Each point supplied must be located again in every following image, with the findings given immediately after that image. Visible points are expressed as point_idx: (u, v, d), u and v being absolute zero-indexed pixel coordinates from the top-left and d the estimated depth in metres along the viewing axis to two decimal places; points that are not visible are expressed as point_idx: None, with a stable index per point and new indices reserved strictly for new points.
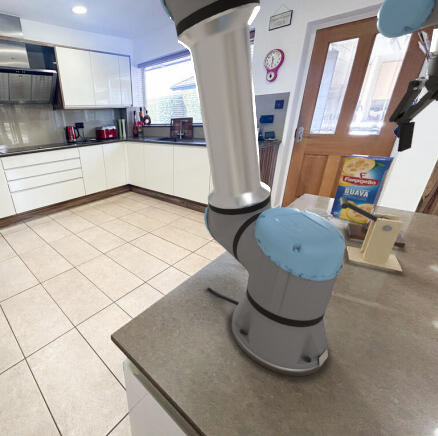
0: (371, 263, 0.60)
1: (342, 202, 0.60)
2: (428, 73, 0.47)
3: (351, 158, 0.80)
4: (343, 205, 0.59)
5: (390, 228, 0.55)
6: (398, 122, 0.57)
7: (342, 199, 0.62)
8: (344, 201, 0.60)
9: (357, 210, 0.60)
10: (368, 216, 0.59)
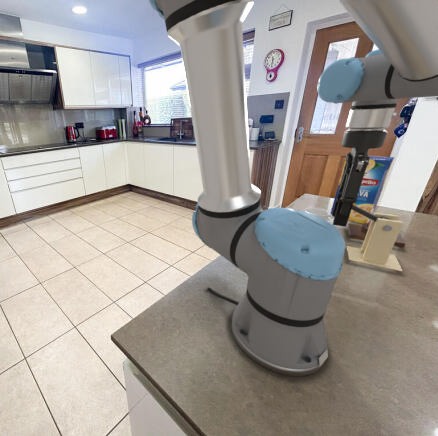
0: (371, 263, 0.60)
1: None
2: None
3: None
4: None
5: (390, 228, 0.55)
6: None
7: None
8: None
9: (357, 210, 0.60)
10: (368, 216, 0.59)
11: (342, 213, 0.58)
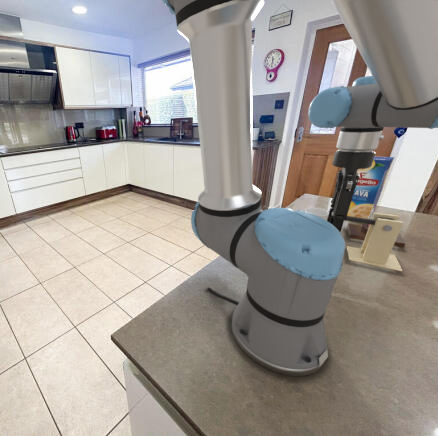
0: (371, 263, 0.60)
1: None
2: None
3: None
4: None
5: (390, 228, 0.55)
6: (331, 205, 0.67)
7: (332, 214, 0.64)
8: None
9: (351, 219, 0.61)
10: (364, 222, 0.60)
11: None
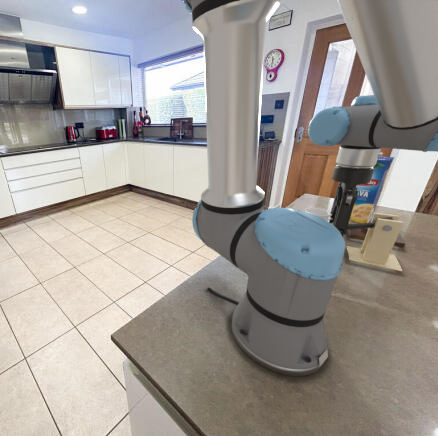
0: (371, 263, 0.60)
1: None
2: None
3: None
4: None
5: (390, 228, 0.55)
6: (330, 216, 0.68)
7: None
8: None
9: (351, 227, 0.62)
10: (364, 227, 0.60)
11: None
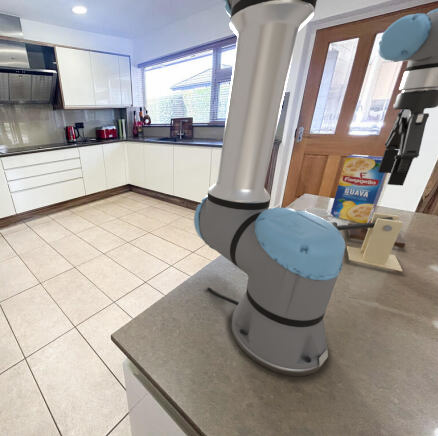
0: (371, 263, 0.60)
1: None
2: None
3: (351, 158, 0.80)
4: None
5: (390, 228, 0.55)
6: (386, 146, 0.68)
7: None
8: None
9: (351, 227, 0.62)
10: (364, 227, 0.60)
11: (400, 170, 0.56)
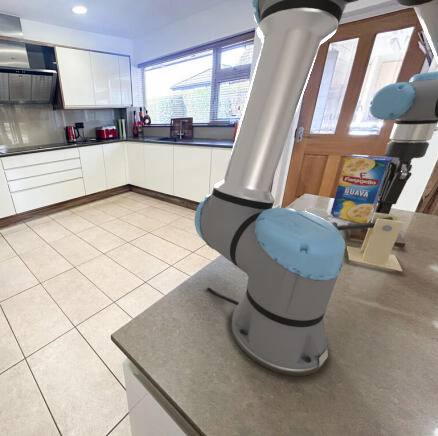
0: (371, 263, 0.60)
1: None
2: None
3: (351, 158, 0.80)
4: None
5: (390, 228, 0.55)
6: (379, 198, 0.69)
7: None
8: None
9: (351, 227, 0.62)
10: (364, 227, 0.60)
11: None
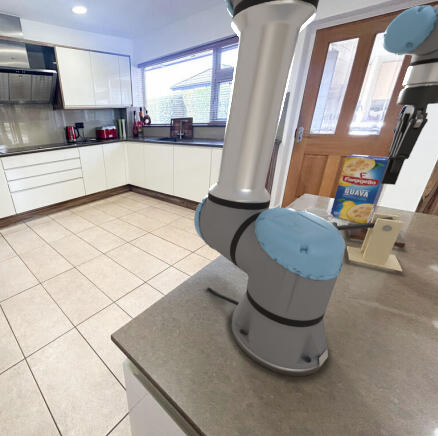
0: (371, 263, 0.60)
1: None
2: None
3: (351, 158, 0.80)
4: None
5: (390, 228, 0.55)
6: (389, 156, 0.63)
7: None
8: None
9: (351, 227, 0.62)
10: (364, 227, 0.60)
11: (393, 171, 0.62)
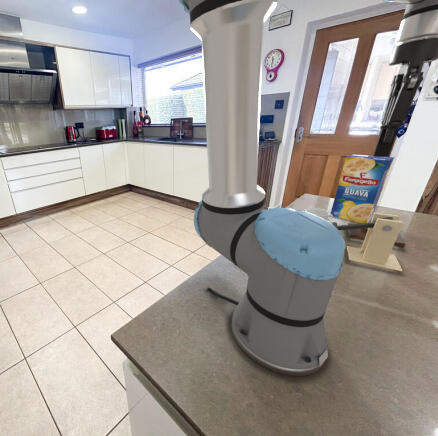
0: (371, 263, 0.60)
1: None
2: None
3: (351, 158, 0.80)
4: None
5: (390, 228, 0.55)
6: (382, 125, 0.57)
7: None
8: None
9: (351, 227, 0.62)
10: (364, 227, 0.60)
11: (386, 141, 0.56)
